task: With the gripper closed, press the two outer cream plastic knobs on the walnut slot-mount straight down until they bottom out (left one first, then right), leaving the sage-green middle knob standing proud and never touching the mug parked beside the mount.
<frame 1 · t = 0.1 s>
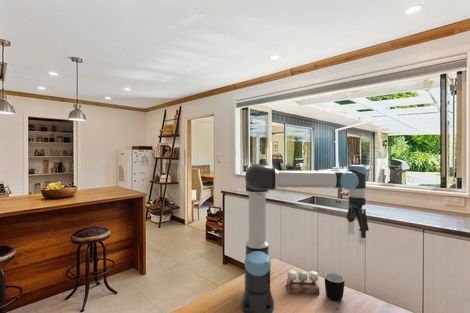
hand: (356, 238, 124), 28 cm above the countertop, fingers open, 13 cm apart
mug: (333, 296, 123), on the countertop
knob mid: (302, 277, 129), point 6 cm above the countertop, slide at 0.0 cm
knob left: (291, 277, 129), point 6 cm above the countertop, slide at 0.0 cm
knob right: (313, 278, 128), point 6 cm above the countertop, slide at 0.0 cm
mount: (302, 289, 129), on the countertop
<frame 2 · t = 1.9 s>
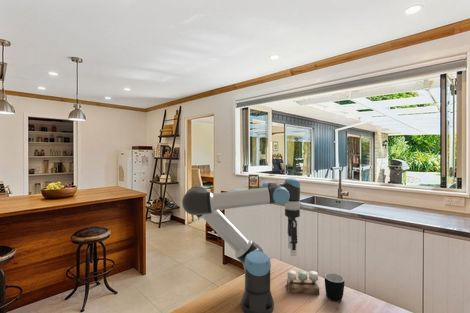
hand: (292, 251, 129), 19 cm above the countertop, fingers open, 9 cm apart
nothing on the countertop moved.
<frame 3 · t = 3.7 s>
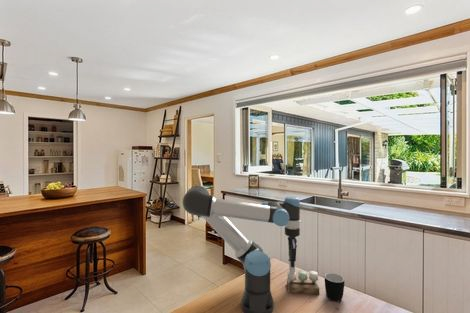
hand: (292, 272, 129), 9 cm above the countertop, fingers closed
knob left: (291, 277, 129), point 6 cm above the countertop, slide at -0.3 cm, touching gripper
everything else where it was.
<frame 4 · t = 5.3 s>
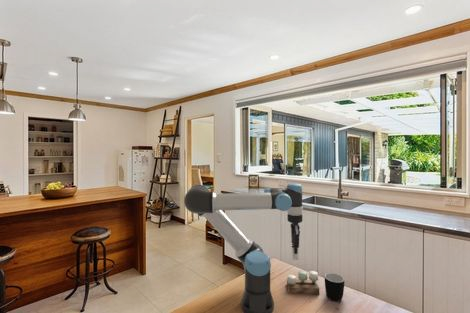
hand: (295, 258, 129), 16 cm above the countertop, fingers closed
knob left: (291, 281, 129), point 4 cm above the countertop, slide at -2.4 cm
everything else where it was.
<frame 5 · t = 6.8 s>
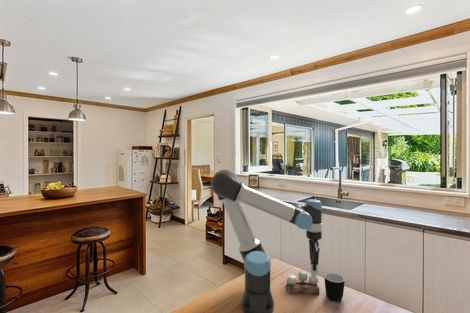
hand: (313, 275, 128), 7 cm above the countertop, fingers closed
knob right: (313, 281, 128), point 4 cm above the countertop, slide at -1.5 cm, touching gripper
everything else where it was.
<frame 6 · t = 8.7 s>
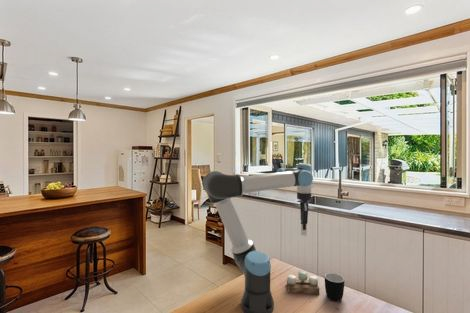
hand: (303, 235, 136), 26 cm above the countertop, fingers closed
knob right: (313, 282, 128), point 4 cm above the countertop, slide at -2.4 cm
everything else where it was.
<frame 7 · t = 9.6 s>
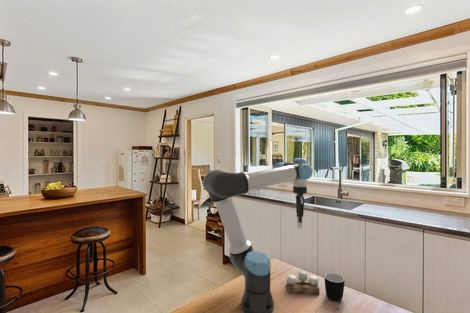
hand: (299, 227, 140), 28 cm above the countertop, fingers closed
nothing on the countertop moved.
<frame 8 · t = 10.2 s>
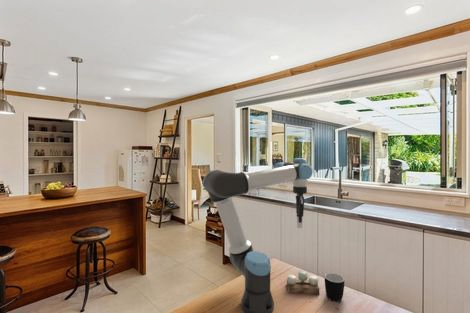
hand: (299, 227, 140), 28 cm above the countertop, fingers closed
nothing on the countertop moved.
at the end: knob left slide at -2.4 cm; knob right slide at -2.4 cm; knob mid slide at 0.0 cm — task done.
